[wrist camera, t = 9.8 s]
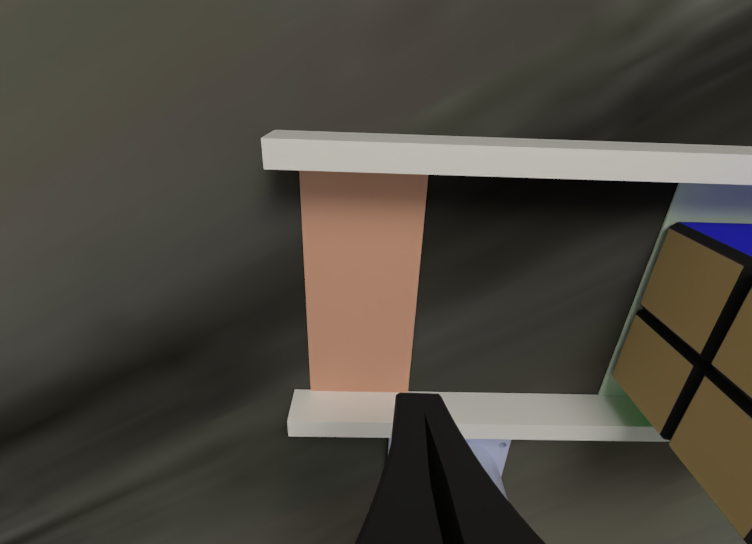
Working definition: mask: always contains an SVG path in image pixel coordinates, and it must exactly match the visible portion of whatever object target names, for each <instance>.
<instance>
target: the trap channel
mask: <svg viewBox="0 0 752 544" xmlns="http://www.w3.org/2000/svg"><path fill="white" fill-rule="evenodd" d="M261 145H262V156H263V167H264V169H267V170H298V171H299V177H300V196H301V215H302V234H303V253H304V272H305V291H306V310H307V329H308V348H309V367H310V386H311V390H300V389H295V390H294V395H293V399H292V403H291V407H290V411H289V415H288V420H287V426H288V436H295V437H366V438H392V427H393V417H394V408H395V399H396V395H397V394H398V393H400V392H402V393H433V394H439V395H440V396H441V397H442V399H443V401H444V403H445V405H446V407H447V409H448V411H449V413H450V414H451V416H452V418H453V420H454V422H455V423H456V425H457V427H458V429H459V430H460V432H461V434H462V435H463V437H464V439H507V440H578V441H649V442H670V440H665V439H663V438H662V437H661V436H660V434H659V433H658V432H657V431H656V429H655V428H654V427H653V426H652V425H651V423H650V422H649V421H648V420H647V418H646V417H645V416H644V415H643V413H642V412H641V411H640V410H639V408H638V407H637V406H636V405H635V403H634V402H633V401H632V400H631V398H630V397H629V396H628V395H627V394H626V392H625V391H624V390H623V389H622V387H621V386H620V385H619V384H618V382H617V381H616V380H615V379H614V377H613V376H612V374H613V371H614V369H615V366H616V364H617V361H618V358H619V356H620V353H621V351H622V348H623V345H624V343H625V340H626V337H627V335H628V332H629V330H630V327H631V324H632V322H633V319H634V317H635V314H636V313H637V311H639V310H642V309H643V307H642V306H641V305H640V302H641V299H642V297H643V294H644V291H645V289H646V286H647V284H648V281H649V278H650V276H651V273H652V271H653V268H654V265H655V263H656V260H657V257H658V255H659V252H660V250H661V247H662V244H663V242H664V239H665V237H666V234H667V231H668V229H669V227H670V226H671V225H673V224H675V223H676V222H705V223H744V224H752V146H725V145H696V144H668V143H639V142H610V141H582V140H553V139H524V138H495V137H467V136H438V135H409V134H381V133H352V132H323V131H294V130H274V131H272V132H270V133H269V134H267V135H265V136H264V137H262V138H261ZM428 175H454V176H485V177H516V178H547V179H579V180H610V181H641V182H672V183H678V186H677V188H676V191H675V193H674V196H673V199H672V201H671V204H670V206H669V209H668V212H667V214H666V217H665V220H664V222H663V225H662V227H661V230H660V233H659V235H658V238H657V240H656V243H655V246H654V248H653V251H652V254H651V256H650V259H649V261H648V264H647V267H646V269H645V272H644V274H643V277H642V280H641V282H640V285H639V287H638V290H637V293H636V295H635V298H634V301H633V303H632V306H631V308H630V311H629V314H628V316H627V319H626V321H625V324H624V327H623V329H622V332H621V335H620V337H619V340H618V342H617V345H616V348H615V350H614V353H613V355H612V358H611V361H610V363H609V366H608V369H607V371H606V374H605V376H604V379H603V382H602V384H601V387H600V389H599V392H598V395H590V394H532V393H474V392H416V391H408V386H409V375H410V365H411V354H412V343H413V333H414V322H415V312H416V301H417V290H418V280H419V269H420V259H421V248H422V237H423V227H424V216H425V206H426V195H427V184H428Z"/></svg>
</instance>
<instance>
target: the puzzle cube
mask: <svg viewBox="0 0 752 544" xmlns="http://www.w3.org/2000/svg"><path fill="white" fill-rule="evenodd" d="M640 305H641V306H642V307H643V309H642V310H639V311H637V313H636V314H635V317H634V319H633V322H632V324H631V327H630V330H629V332H628V335H627V337H626V340H625V343H624V345H623V348H622V351H621V353H620V356H619V358H618V361H617V364H616V366H615V369H614V371H613V374H612V376H613V377H614V379H615V380H616V381H617V382H618V384H619V385H620V386H621V387H622V389H623V390H624V391H625V392H626V394H627V395H628V396H629V397H630V398H631V400H632V401H633V402H634V403H635V405H636V406H637V407H638V408H639V410H640V411H641V412H642V413H643V415H644V416H645V417H646V418H647V420H648V421H649V422H650V423H651V425H652V426H653V427H654V428H655V429H656V431H657V432H658V433H659V434H660V436H661V437H662V438H663V439H665V440H670V442H669V444H668V445H669V446H670V448H671V449H672V450H673V451H674V453H675V454H676V455H677V457H678V458H679V459H680V460H681V462H682V463H683V464H684V465H685V467H686V468H687V469H688V470H689V472H690V473H691V474H692V475H693V477H694V478H695V479H696V480H697V482H698V483H699V484H700V485H701V487H702V488H703V489H704V490H705V492H706V493H707V494H708V495H709V497H710V498H711V499H712V501H713V502H714V503H715V504H716V506H717V507H718V508H719V509H720V511H721V512H722V513H723V514H724V516H725V517H726V518H727V519H728V521H729V522H730V523H731V524H732V526H733V527H734V528H735V529H736V531H737V532H738V533H739V534H740V536H741V537H742V538H743V539H744V541H745V542H746V543H747V544H752V224H744V223H705V222H676V223H675V224H673V225H671V226H670V227H669V229H668V231H667V234H666V237H665V239H664V242H663V244H662V247H661V250H660V252H659V255H658V257H657V260H656V263H655V265H654V268H653V271H652V273H651V276H650V278H649V281H648V284H647V286H646V289H645V291H644V294H643V297H642V299H641V302H640Z"/></svg>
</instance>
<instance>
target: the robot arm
mask: <svg viewBox="0 0 752 544" xmlns="http://www.w3.org/2000/svg"><path fill="white" fill-rule="evenodd" d="M510 443H511V440H507V439H464V437H463V435H462V434H461V432H460V430H459V429H458V427H457V425H456V423H455V422H454V420H453V418H452V416H451V414H450V413H449V411H448V409H447V407H446V405H445V403H444V401H443V399H442V397H441V396H440V395H439V394H433V393H402V392H400V393H398V394H397V395H396V399H395V408H394V417H393V427H392V438H389V442H388V456H387V460H386V463H385V467H384V470H383V473H382V476H381V480H380V482H379V485H378V488H377V491H376V494H375V496H374V499H373V502H372V504H371V507H370V510H369V512H368V514H367V517H366V519H365V522H364V524H363V526H362V529H361V531H360V533H359V536H358V538H357V540H356V542H355V544H546V543H545V542H544V541H543V540H542V539H541V538H540V537H539V536H538V535H537V534H536V533H535V532H534V531H533V530H532V528H531V527H530V526H529V525H528V524H527V523H526V522H525V520H524V519H523V518H522V517H521V516H520V515H519V513H518V512H517V511H516V510H515V509H514V507H513V506H512V505H511V504H510V502H509V501H508V499H507V496H506V493H505V489H504V486H503V483H502V480H501V476H502V472H503V468H504V465H505V461H506V457H507V454H508V450H509V446H510Z"/></svg>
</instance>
